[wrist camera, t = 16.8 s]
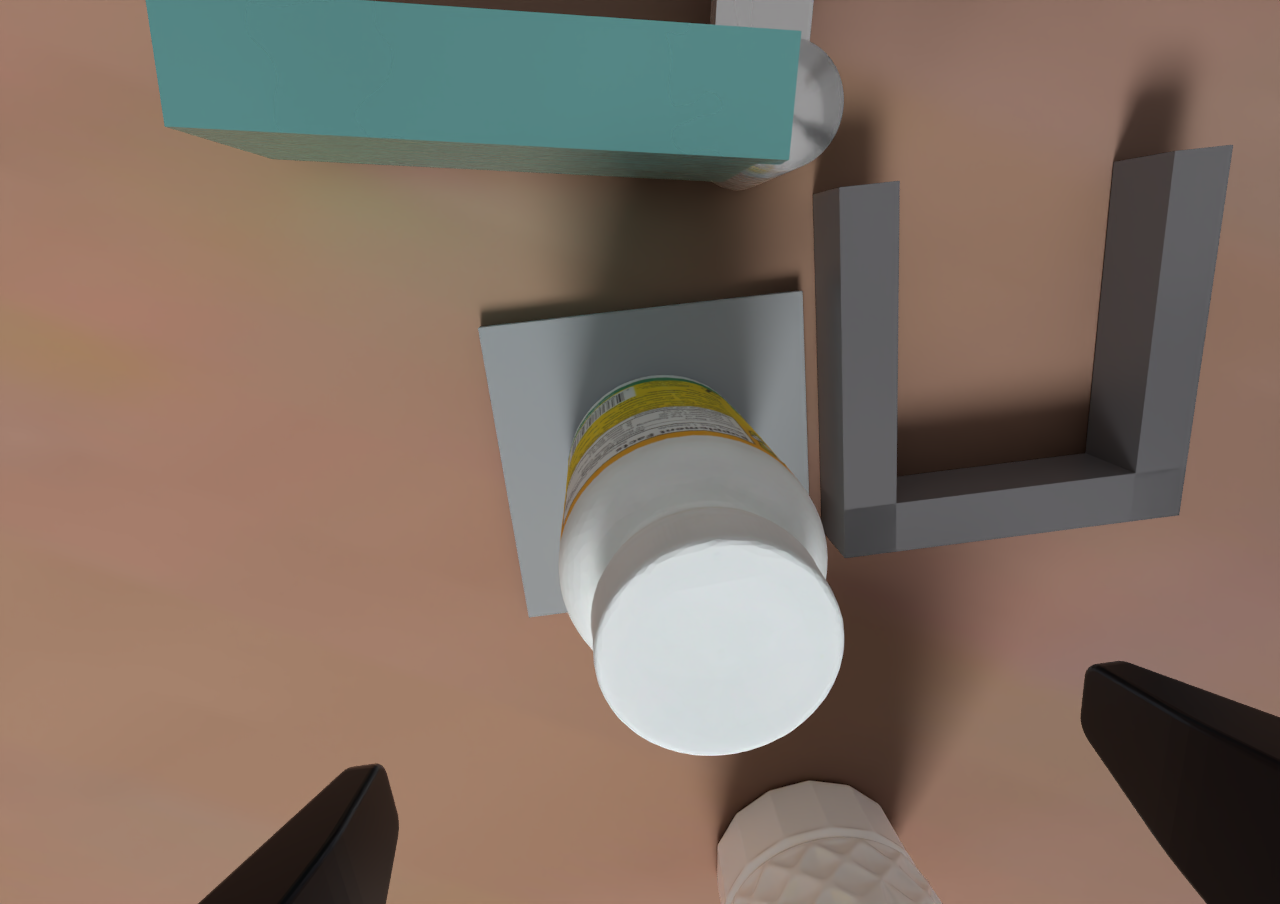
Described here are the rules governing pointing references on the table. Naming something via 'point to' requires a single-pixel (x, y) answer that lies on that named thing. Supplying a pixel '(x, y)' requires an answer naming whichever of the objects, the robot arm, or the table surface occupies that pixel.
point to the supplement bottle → (695, 571)
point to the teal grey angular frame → (502, 87)
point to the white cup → (816, 851)
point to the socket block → (1121, 388)
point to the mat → (613, 355)
